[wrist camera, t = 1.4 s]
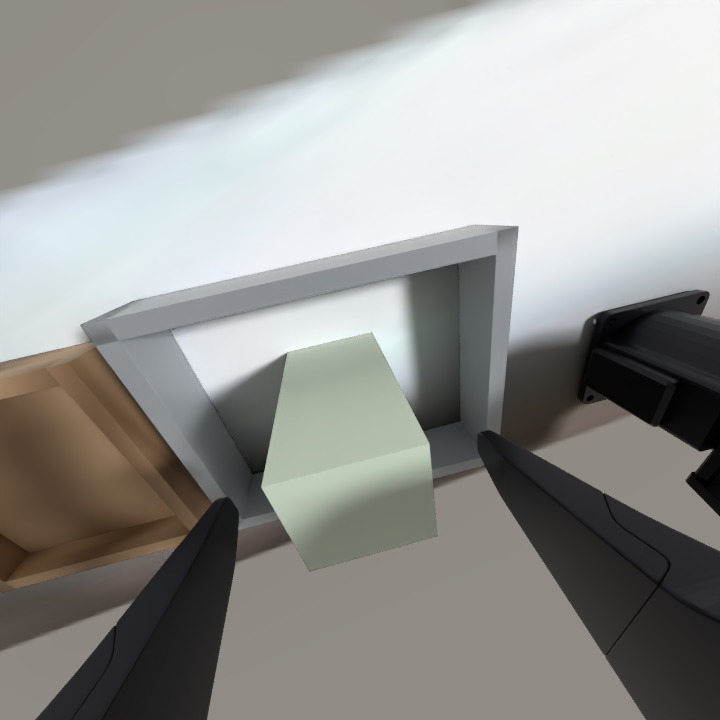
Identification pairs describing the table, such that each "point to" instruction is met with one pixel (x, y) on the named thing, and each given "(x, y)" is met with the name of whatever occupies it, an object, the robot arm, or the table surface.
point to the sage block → (347, 456)
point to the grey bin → (164, 312)
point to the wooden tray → (83, 471)
